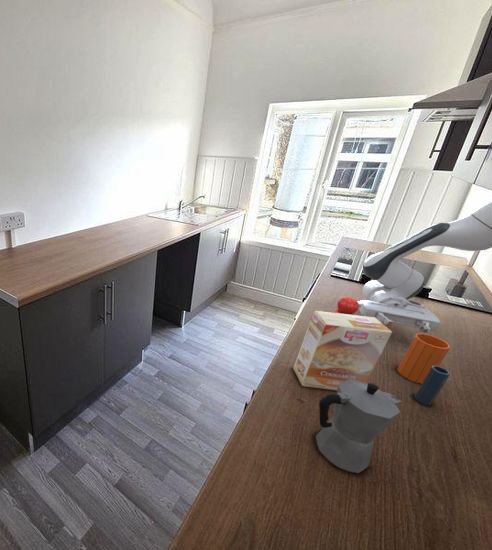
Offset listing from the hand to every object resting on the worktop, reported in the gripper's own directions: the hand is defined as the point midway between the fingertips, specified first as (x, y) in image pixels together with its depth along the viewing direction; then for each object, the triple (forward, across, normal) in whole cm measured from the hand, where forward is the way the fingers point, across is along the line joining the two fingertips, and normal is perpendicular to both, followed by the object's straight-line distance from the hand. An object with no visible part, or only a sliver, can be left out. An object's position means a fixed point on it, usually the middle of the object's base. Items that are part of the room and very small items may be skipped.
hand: (407, 327), depth 91 cm
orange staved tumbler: (+12, 0, +9) cm, 15 cm away
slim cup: (+23, -2, +9) cm, 25 cm away
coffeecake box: (+25, -24, +10) cm, 37 cm away
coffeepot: (+49, -27, +9) cm, 57 cm away
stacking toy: (+8, -20, +10) cm, 24 cm away
